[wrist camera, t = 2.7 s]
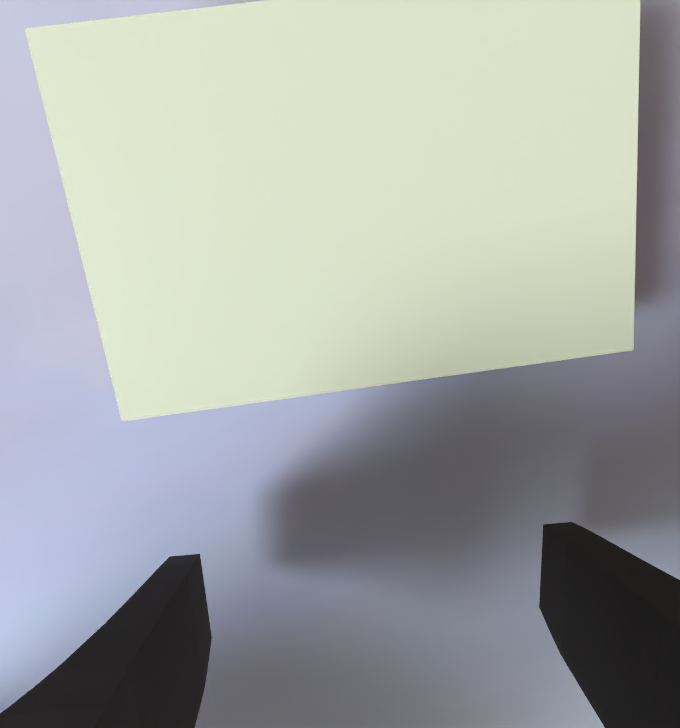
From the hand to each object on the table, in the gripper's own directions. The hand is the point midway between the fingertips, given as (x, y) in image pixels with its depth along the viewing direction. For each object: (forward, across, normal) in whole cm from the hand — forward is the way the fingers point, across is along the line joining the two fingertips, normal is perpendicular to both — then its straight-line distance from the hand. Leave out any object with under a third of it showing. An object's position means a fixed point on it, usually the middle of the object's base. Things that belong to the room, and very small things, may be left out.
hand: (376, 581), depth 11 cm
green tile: (+2, 0, -7) cm, 8 cm away
